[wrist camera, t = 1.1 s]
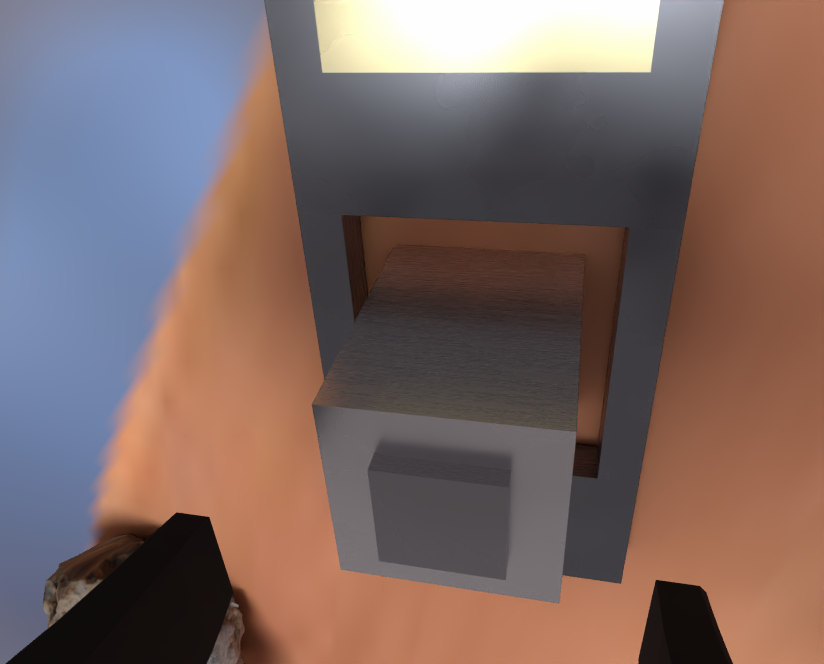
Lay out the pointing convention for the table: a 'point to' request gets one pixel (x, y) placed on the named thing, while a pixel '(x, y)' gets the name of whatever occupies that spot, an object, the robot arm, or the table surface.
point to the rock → (98, 564)
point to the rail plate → (506, 168)
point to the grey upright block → (457, 420)
